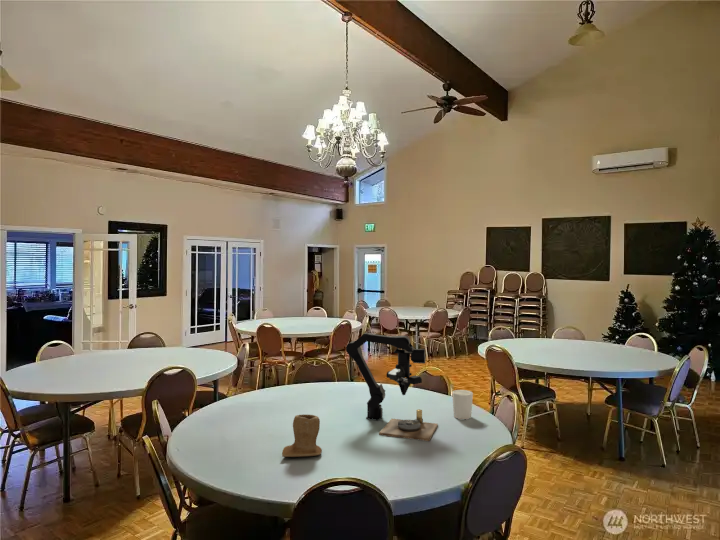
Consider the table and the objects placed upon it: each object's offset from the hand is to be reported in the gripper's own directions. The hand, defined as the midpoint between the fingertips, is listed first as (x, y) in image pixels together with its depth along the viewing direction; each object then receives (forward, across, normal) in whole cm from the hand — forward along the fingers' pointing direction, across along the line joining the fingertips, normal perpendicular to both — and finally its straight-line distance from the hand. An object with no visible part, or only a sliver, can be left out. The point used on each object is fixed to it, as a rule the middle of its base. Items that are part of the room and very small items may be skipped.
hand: (403, 395), depth 221 cm
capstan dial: (+11, +11, -6) cm, 17 cm away
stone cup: (+12, +3, -59) cm, 61 cm away
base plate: (+12, +12, -8) cm, 18 cm away
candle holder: (+12, +15, +25) cm, 32 cm away
